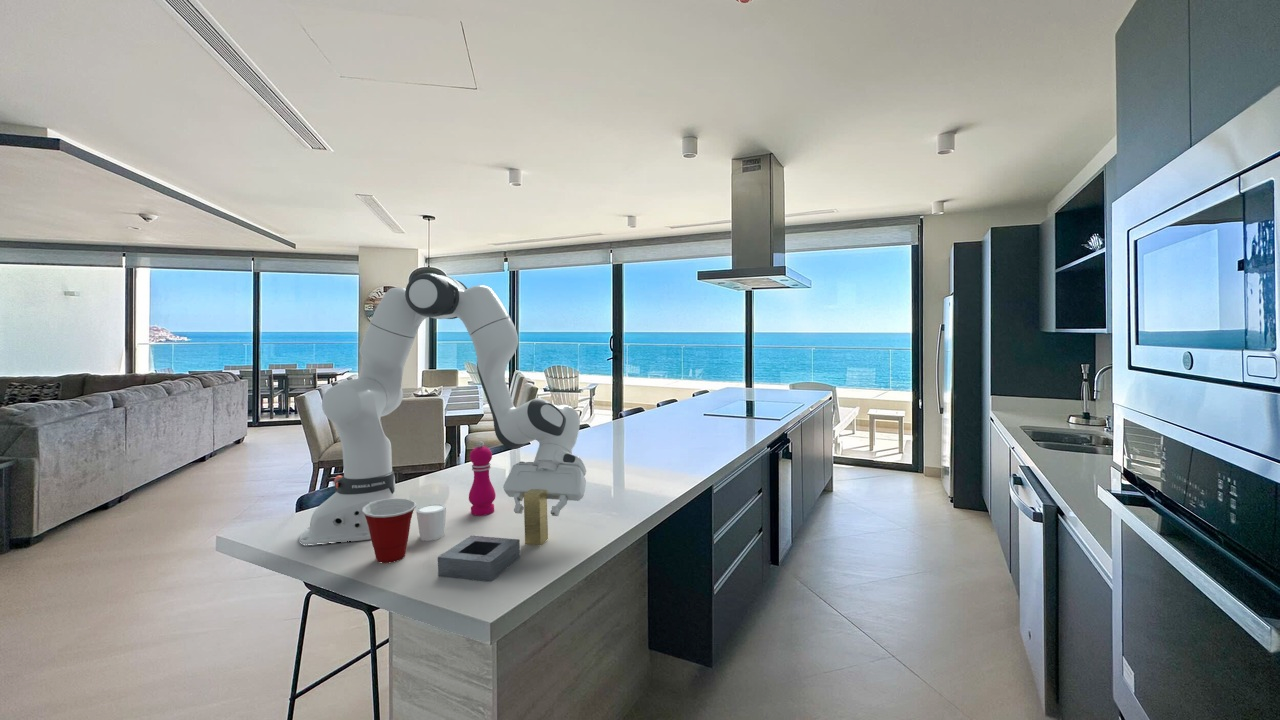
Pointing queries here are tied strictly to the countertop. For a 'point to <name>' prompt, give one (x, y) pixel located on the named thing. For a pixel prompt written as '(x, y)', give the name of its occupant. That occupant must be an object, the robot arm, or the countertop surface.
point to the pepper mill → (481, 482)
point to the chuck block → (479, 558)
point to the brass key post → (535, 516)
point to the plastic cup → (389, 527)
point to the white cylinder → (431, 521)
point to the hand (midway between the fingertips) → (535, 513)
